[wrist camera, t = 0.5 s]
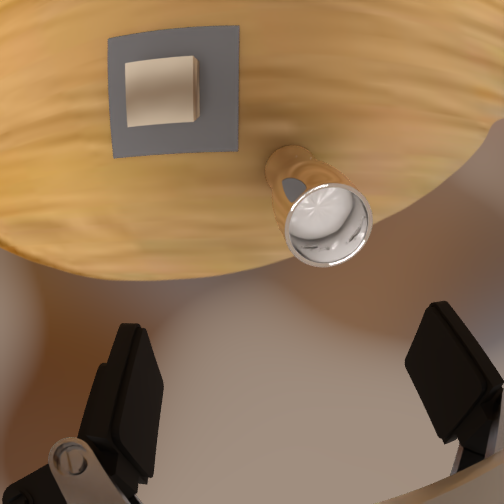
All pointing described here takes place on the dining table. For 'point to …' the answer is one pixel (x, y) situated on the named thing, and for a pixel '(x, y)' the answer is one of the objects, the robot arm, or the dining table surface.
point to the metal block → (162, 91)
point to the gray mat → (211, 91)
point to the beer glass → (316, 208)
